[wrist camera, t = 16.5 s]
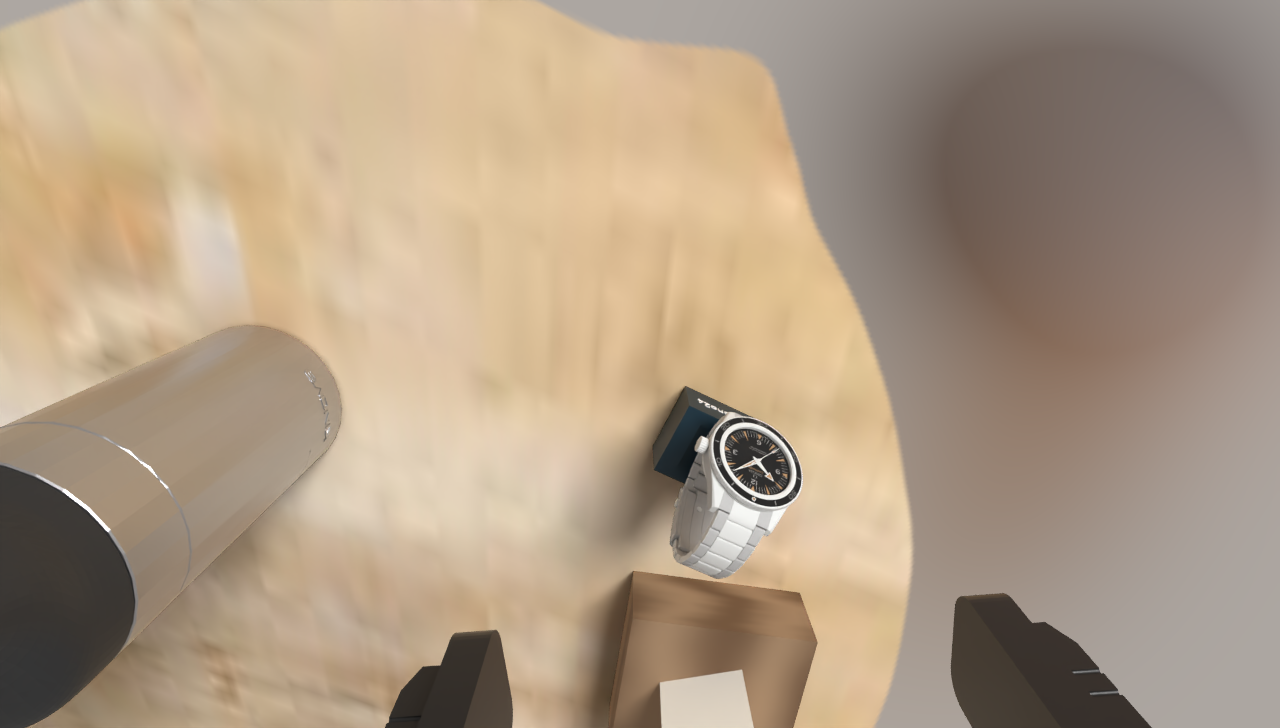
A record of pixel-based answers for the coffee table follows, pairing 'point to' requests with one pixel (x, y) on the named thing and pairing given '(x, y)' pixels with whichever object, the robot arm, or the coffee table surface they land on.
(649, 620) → the walnut block
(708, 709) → the cream block
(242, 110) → the coffee table surface
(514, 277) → the coffee table surface
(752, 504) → the watch
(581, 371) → the coffee table surface
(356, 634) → the coffee table surface
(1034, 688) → the robot arm
